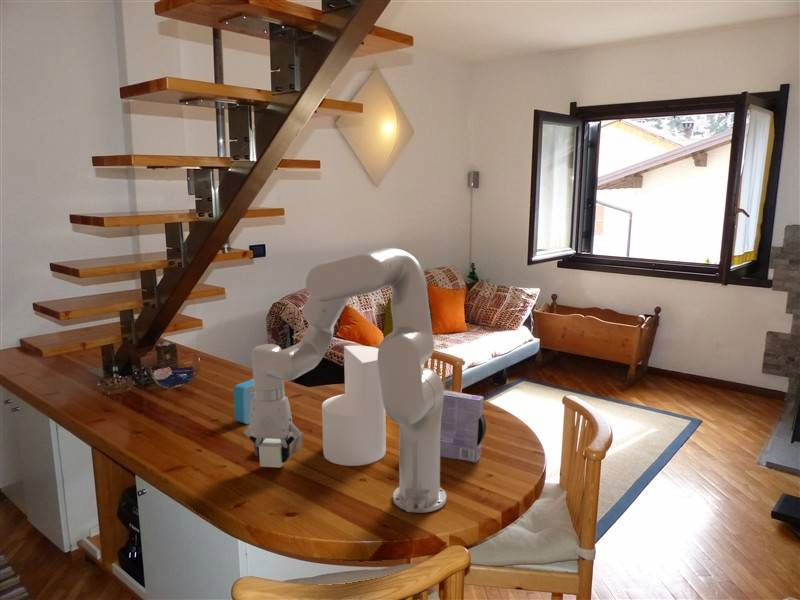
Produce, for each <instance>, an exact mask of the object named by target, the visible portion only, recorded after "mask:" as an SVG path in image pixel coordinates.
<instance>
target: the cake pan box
mask: <svg viewBox="0 0 800 600" xmlns="http://www.w3.org/2000/svg"><path fill="white" fill-rule="evenodd" d="M484 400H485V398H484V396H482V395H476V394H474V395H473V394H468V393H461V392H457V391H450V390H449V391H448V390H444V400H443V408H442V416H441V438H440V458H445V459H446V458H447V459H454V460H461V461H465V462H471V463H476V464H477V462H479V460H480V458H481V456H482V455H481V454H482V443H483V442H482V441H483V439H484V438H485V435H486V429H487V423H486V418H485V415H484V403H485V401H484Z"/></svg>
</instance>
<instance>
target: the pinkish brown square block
mask: <svg viewBox="0 0 800 600" xmlns="http://www.w3.org/2000/svg"><path fill="white" fill-rule="evenodd" d="M300 432H301V434H300V435H299V436H298V437H297V438H296V439H295V440H294V441H293V442H292V443H291V444H290V445H289V449H290V456H289V458H288V459H287V460H290V459H291V457H293V456H294V455H295V454H296V453H297V452H298V450H300V448H302V447H303V446H304V432H303V431H300ZM292 435H293V433H292V432H289V438H290V437H291V436H292ZM265 439H266V438H264V440H265ZM264 440H263V441H264ZM253 443H254V442H253ZM253 445H254V446H253V448H254V456H257V457H258V454H257V447H256V446H255V443H254V444H253Z"/></svg>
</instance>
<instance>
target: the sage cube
mask: <svg viewBox="0 0 800 600" xmlns="http://www.w3.org/2000/svg"><path fill="white" fill-rule="evenodd" d="M282 447H283V445H282V443H281V440H280V439H271V438H266V439H265V440H264V441H263V442H262V443H261V444H260V446H259V457H260V461H259V466H260V467H264V468H282V466H283V465H284V464H285V463H286V462H282V451H281V448H282ZM259 457H258V458H259Z"/></svg>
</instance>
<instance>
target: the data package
mask: <svg viewBox="0 0 800 600" xmlns="http://www.w3.org/2000/svg"><path fill="white" fill-rule="evenodd" d="M253 387H254V381H253V378H251V379H249V380H247V381H246V380H245V381H243V382H241V383H238V384H236V385H234V387H233V404H234V405H233V408H234V419H235V421H236V422H237V423H238V422H239V423H242V424H246V425H250V408H251V401H252V399H253V398H254V394H252V393H249V389H250V388H253Z"/></svg>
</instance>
